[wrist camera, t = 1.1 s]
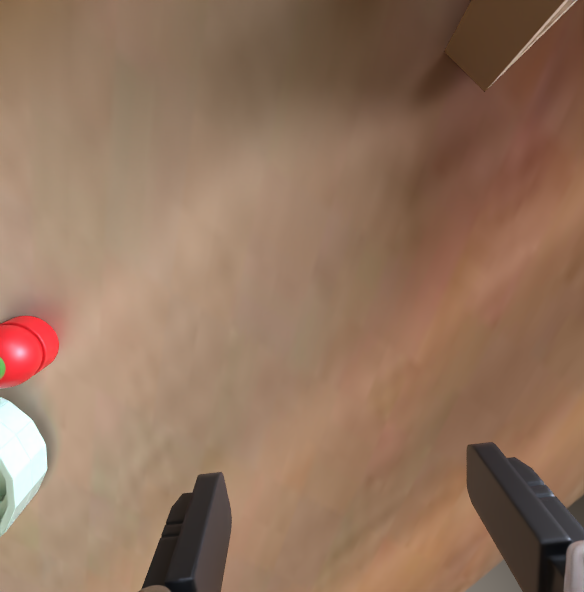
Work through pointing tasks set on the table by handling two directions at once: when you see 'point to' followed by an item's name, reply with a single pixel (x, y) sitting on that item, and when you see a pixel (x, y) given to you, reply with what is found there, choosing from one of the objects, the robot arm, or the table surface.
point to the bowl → (18, 462)
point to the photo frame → (500, 34)
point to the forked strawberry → (25, 349)
